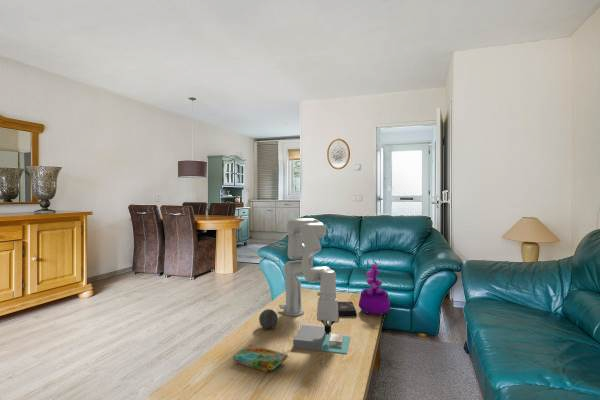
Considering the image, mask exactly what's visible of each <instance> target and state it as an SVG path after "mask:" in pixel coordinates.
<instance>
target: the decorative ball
mask: <svg viewBox="0 0 600 400" xmlns="http://www.w3.org/2000/svg"><path fill="white" fill-rule="evenodd" d="M258 321H259V325H260V326H261V327H262V328H264V329H265V330H270V329H274V327H276V325H277V323H278V321H279V317H278V314H277V312H276V311H274V310H273V309H270V308H267V309H264V310H263V311H262V312H261V313H260V314H259V318H258Z"/></svg>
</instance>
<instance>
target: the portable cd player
mask: <svg viewBox="0 0 600 400" xmlns="http://www.w3.org/2000/svg"><path fill="white" fill-rule="evenodd" d="M338 311H339V316H338V318H340V317H341V318H344V317H345V318H346V317H350V318H351V317H353V318H354V317H357V316H358V313H357V310H356V308H355V305H354V302H352V301H338Z"/></svg>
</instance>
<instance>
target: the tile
mask: <svg viewBox="0 0 600 400" xmlns="http://www.w3.org/2000/svg"><path fill="white" fill-rule="evenodd" d="M330 335H331V337H330V340H329V346H335V347H342V344H343V341H344V336H345V334H340V333H339V334H338V333H330Z"/></svg>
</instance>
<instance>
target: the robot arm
mask: <svg viewBox="0 0 600 400" xmlns="http://www.w3.org/2000/svg"><path fill="white" fill-rule="evenodd" d="M286 231H287V234H288V242H287V257H288V259H290V260H289V261H287V262H286V263H284V266H283V268H284V269H283V271H284V277H285V278H284V279H285V303H284V304H279V306H278V308H279V310H280V309H281V310H282V313H283V315H286V316H288V317H297V316H299V317H300V316H301V315H303V314H304V313H305V310H304V308H302V282H301V280H300V279H299V278H298V277H304V280H305V281H306V282H308V283H309V284H312V283H314V284H315V283H319V285H320V289H319V292H317V294H316V296H319V297H318V300H317V307H316V308H317V309H316V321H318V322H320V323H322V324H323V327H325V332H326V334H328V335H329V334H330V335H331V333H332V325H334V323H335V324H338V323H339V322H340V317H338V316H339V311H338V302H339V301H338V299H337V290H336V289H337V287H336V286H337V281H336V279H337V274H336V271H335V270H333V269H331V268H330V267H329V266H323V265H322V266H314V255H316V254H318V253H319V252H320V251H321V249H322V245H321V242H320V240H319V239H322V238H325V236H326V235H327V228H326V225H325V224H324V223H323V222H321V221H320V220H318V219H316V218H311V217H310V218H305V217H304V218H303V217H301V218H292V219H289V220H288V221H287V222H286Z"/></svg>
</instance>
